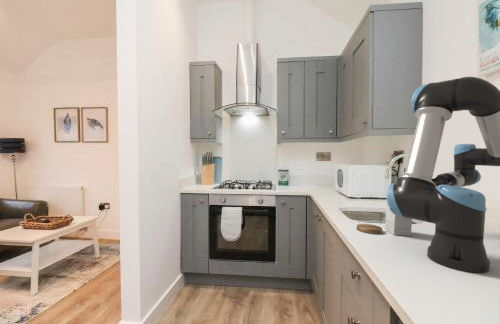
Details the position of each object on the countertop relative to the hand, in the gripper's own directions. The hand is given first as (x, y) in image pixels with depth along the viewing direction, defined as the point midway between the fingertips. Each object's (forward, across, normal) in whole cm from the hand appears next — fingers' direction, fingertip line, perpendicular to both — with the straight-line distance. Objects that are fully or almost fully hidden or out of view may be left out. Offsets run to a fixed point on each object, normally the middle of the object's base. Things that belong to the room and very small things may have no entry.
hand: (412, 188), depth 109 cm
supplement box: (+10, -1, -18) cm, 20 cm away
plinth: (+20, +4, -16) cm, 26 cm away
